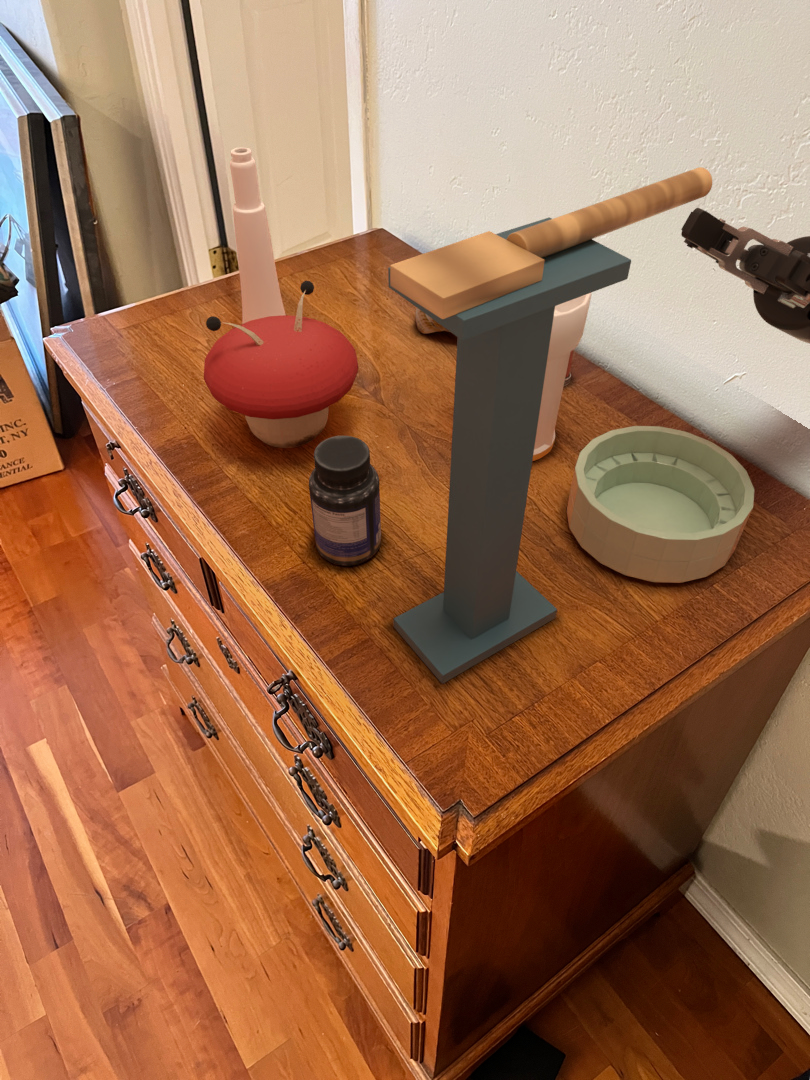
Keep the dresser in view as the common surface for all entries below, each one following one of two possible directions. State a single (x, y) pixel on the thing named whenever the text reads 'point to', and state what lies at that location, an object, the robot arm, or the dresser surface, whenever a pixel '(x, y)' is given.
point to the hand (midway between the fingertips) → (737, 243)
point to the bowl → (658, 503)
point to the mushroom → (281, 374)
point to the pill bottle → (345, 501)
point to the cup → (559, 367)
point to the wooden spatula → (529, 247)
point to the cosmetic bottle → (253, 242)
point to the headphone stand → (497, 462)
